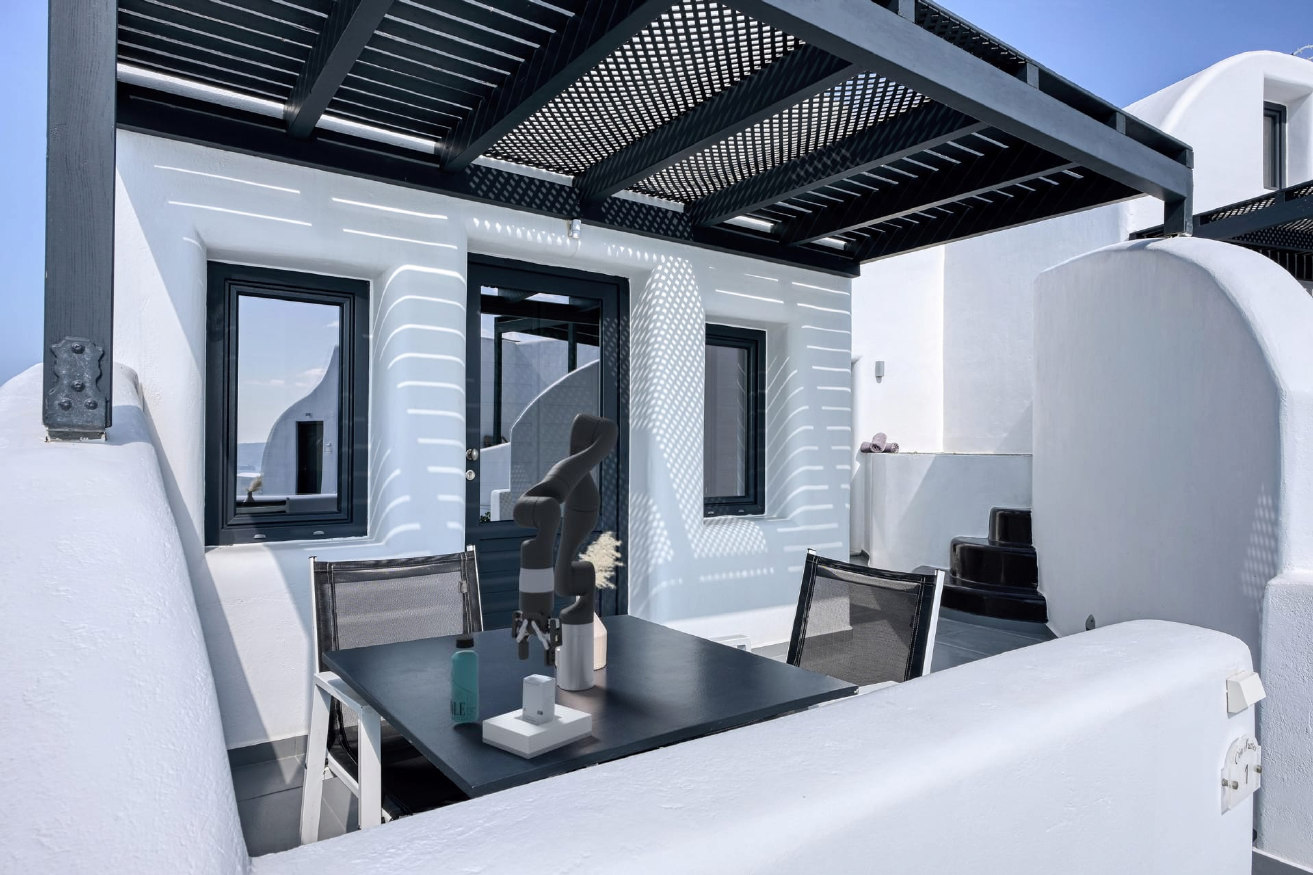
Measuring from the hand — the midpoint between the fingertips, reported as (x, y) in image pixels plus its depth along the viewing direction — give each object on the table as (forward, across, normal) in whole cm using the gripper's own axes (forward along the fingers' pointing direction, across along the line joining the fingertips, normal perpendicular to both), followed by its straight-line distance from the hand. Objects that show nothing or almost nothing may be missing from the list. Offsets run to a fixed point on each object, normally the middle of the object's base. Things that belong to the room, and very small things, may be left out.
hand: (536, 662), depth 172 cm
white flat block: (+16, 0, 0) cm, 16 cm away
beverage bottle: (+17, +19, +5) cm, 26 cm away
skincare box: (+16, -1, 0) cm, 16 cm away
